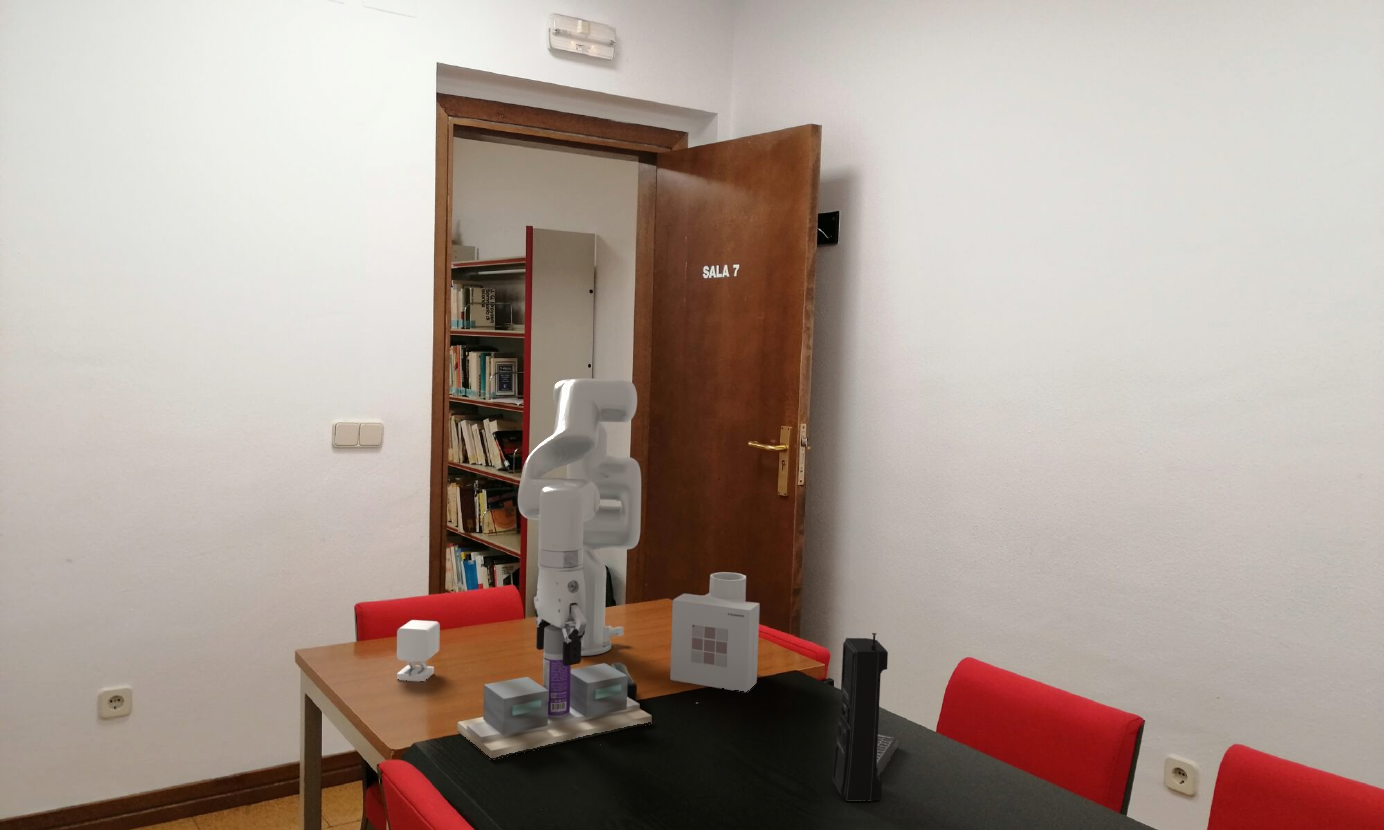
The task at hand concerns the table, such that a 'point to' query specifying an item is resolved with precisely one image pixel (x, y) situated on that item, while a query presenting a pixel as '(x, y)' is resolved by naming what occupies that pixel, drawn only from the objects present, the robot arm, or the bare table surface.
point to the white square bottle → (716, 636)
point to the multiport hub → (885, 750)
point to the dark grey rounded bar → (630, 684)
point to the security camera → (417, 648)
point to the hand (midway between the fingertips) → (558, 656)
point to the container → (556, 673)
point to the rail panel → (553, 732)
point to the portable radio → (859, 720)
